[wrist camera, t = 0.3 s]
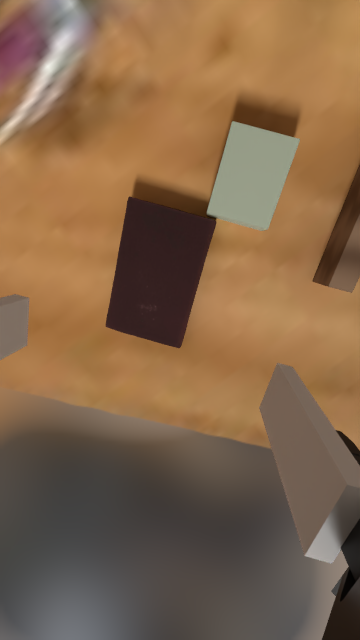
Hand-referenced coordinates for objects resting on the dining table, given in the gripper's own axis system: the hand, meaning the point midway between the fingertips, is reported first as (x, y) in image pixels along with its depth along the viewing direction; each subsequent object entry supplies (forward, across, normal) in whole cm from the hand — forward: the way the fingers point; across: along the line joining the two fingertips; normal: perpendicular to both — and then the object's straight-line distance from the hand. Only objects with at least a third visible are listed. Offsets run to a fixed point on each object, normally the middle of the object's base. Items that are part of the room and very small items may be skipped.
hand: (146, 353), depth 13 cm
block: (+27, +5, +14) cm, 31 cm away
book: (+27, -5, 0) cm, 27 cm away
